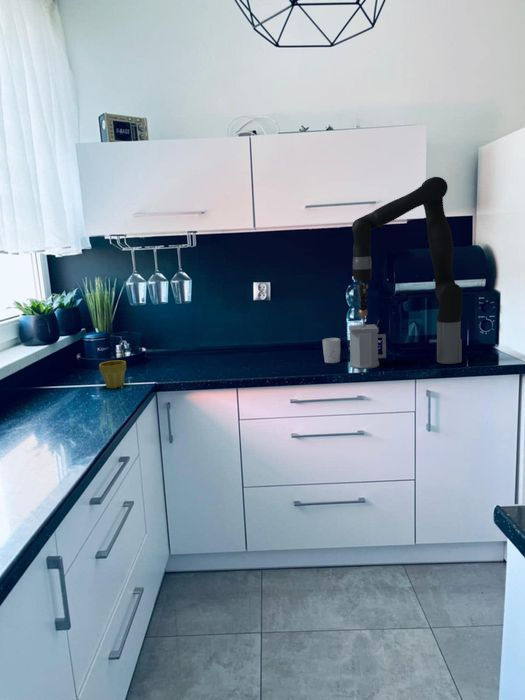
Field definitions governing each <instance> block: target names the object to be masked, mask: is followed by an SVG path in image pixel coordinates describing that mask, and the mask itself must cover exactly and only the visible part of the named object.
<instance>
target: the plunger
mask: <svg viewBox="0 0 525 700" xmlns="http://www.w3.org/2000/svg"><path fill="white" fill-rule="evenodd" d="M367 316H368V309H367V308H366V310H361V309H358V317H361V325H362V328H364V327H365V325H366V323H365V322H366V320H365V317H367Z"/></svg>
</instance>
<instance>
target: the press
mask: <svg viewBox="0 0 525 700" xmlns="http://www.w3.org/2000/svg"><path fill="white" fill-rule="evenodd" d="M379 329H380V328H379V327H378V326H377V325H376V324H365V327H364V328H362V324H358V325H355V324H354V325H348V330H349V352H350V353H349V354H350V355H349V357H350V358H349V360H350V362H349V363H348V364H349V367H350V368H352V367H353V369H357V368H360V370H361V369H362V370H363V369H364V370H365V369H366V370H367V369H374V368H377V367H380V362H379V359H387V340H386V339H387V336H386V333H382V334H381V333H380V334H379V331H380V330H379ZM379 338H380V339H381V338H382V354H379V341H378V339H379Z"/></svg>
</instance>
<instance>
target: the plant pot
mask: <svg viewBox="0 0 525 700" xmlns="http://www.w3.org/2000/svg"><path fill="white" fill-rule="evenodd" d="M98 366H99V367H98V369H99V373H100V374H102V378H103V380H104V383H105V386H106V388H107V389H118V388H117V387H119V388H121V387H120V386H122V385H123V386H124V383H125V374H126V371H127V362H126V360H120V359H119V360H118V359H116V360H108V361H104V362H100V363H99V365H98ZM123 386H122V387H123Z"/></svg>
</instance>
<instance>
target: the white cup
mask: <svg viewBox="0 0 525 700" xmlns="http://www.w3.org/2000/svg"><path fill="white" fill-rule="evenodd" d="M321 341H322V342H321V343H322V350H323V358H324V363H325V364H336V363H339V362H340V361H341V358H340V357H341V338H338V337H329V338H328V337H326V338H323V339H322V340H321Z"/></svg>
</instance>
